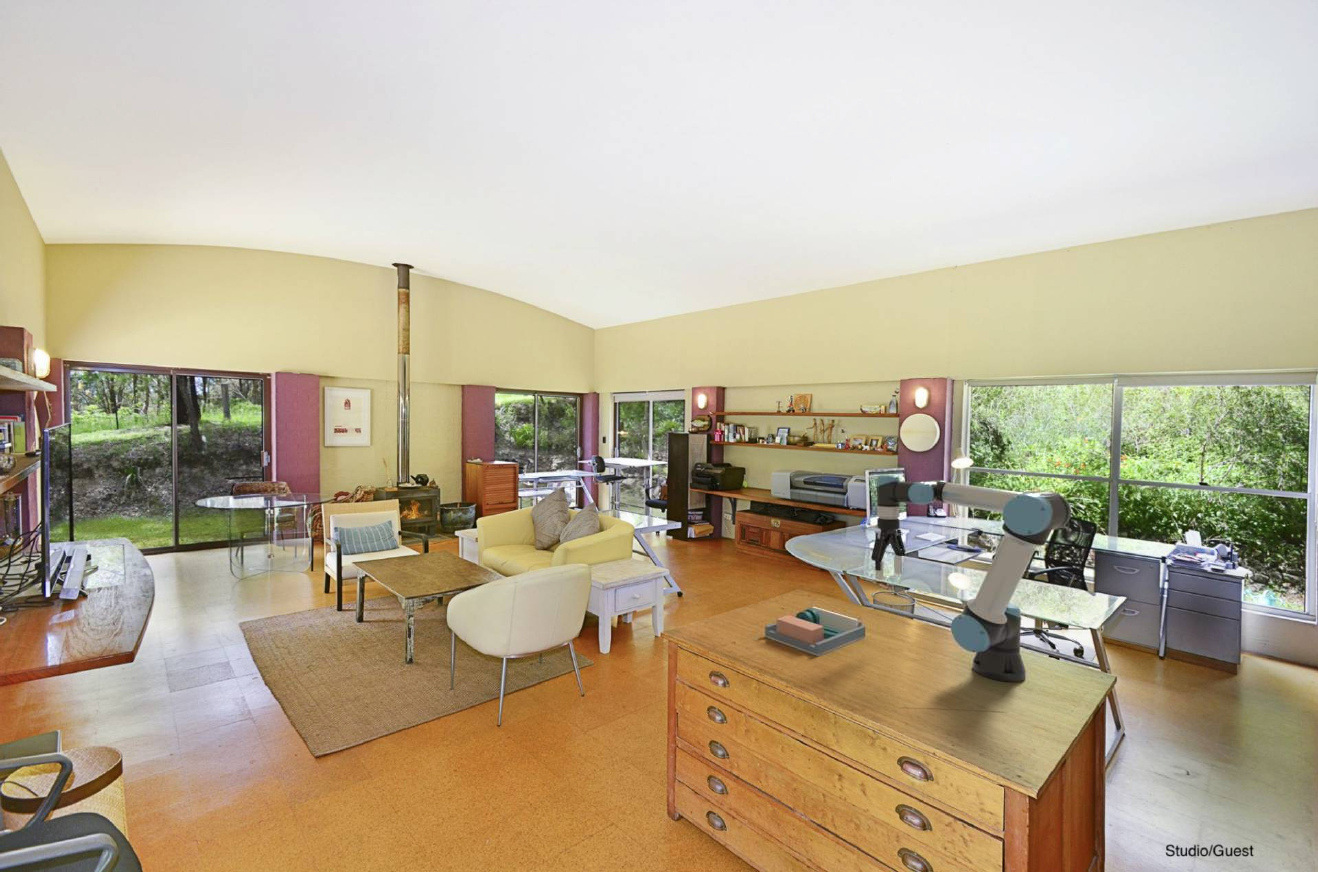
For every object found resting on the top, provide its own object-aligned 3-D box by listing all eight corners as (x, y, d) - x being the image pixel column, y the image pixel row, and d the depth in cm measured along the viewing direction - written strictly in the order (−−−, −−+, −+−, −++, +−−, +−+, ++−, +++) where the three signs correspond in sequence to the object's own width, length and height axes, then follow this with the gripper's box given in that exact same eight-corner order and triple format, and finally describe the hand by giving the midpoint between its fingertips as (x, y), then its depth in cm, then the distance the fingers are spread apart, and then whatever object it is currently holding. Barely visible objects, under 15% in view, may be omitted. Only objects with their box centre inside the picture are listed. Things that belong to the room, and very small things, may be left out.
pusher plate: (813, 620, 241) (813, 606, 241) (858, 635, 226) (858, 619, 225) (811, 621, 241) (811, 606, 240) (856, 635, 225) (856, 620, 225)
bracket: (795, 630, 231) (795, 610, 230) (804, 626, 235) (804, 606, 235) (837, 642, 218) (838, 621, 218) (846, 637, 223) (846, 617, 223)
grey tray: (812, 620, 244) (812, 607, 244) (865, 637, 226) (865, 622, 225) (765, 636, 225) (765, 622, 225) (818, 656, 206) (818, 640, 206)
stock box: (788, 632, 227) (788, 614, 227) (823, 645, 215) (823, 626, 215) (776, 637, 223) (776, 618, 223) (811, 649, 211) (812, 630, 210)
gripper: (895, 513, 225) (896, 569, 225) (860, 519, 209) (861, 580, 208) (914, 515, 219) (915, 572, 219) (880, 522, 203) (881, 583, 203)
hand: (889, 576), depth 214 cm, fingers open, 13 cm apart
